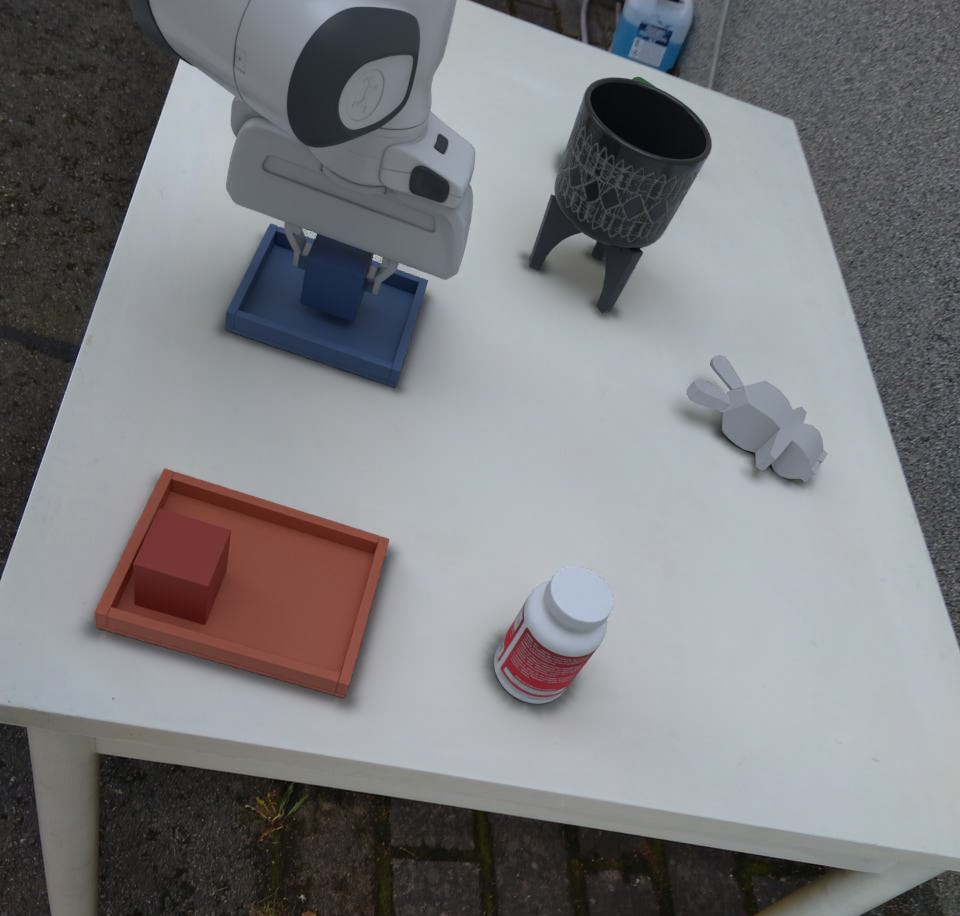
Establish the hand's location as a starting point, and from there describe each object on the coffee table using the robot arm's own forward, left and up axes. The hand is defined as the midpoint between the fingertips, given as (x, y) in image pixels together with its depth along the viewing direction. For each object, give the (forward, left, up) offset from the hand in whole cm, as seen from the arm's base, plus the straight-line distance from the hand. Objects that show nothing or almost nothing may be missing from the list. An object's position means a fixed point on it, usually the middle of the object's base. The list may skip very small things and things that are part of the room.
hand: (337, 277), depth 83 cm
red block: (-3, -34, -4) cm, 34 cm away
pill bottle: (+24, -32, -4) cm, 40 cm away
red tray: (+2, -32, -4) cm, 32 cm away
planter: (+23, +19, -4) cm, 30 cm away
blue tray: (0, 0, -4) cm, 4 cm away
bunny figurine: (+43, +3, -4) cm, 43 cm away
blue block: (0, 0, -2) cm, 2 cm away
